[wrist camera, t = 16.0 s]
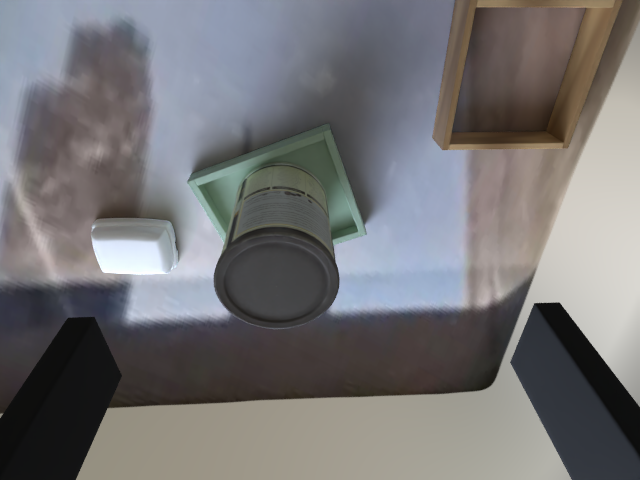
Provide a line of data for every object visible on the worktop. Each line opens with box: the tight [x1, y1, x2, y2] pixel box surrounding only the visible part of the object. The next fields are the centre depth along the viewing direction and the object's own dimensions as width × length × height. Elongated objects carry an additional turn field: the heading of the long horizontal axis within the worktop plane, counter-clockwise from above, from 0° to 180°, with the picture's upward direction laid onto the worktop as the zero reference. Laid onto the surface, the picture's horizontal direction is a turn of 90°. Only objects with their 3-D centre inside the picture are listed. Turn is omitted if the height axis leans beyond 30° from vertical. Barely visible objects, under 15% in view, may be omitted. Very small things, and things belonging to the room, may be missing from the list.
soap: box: [91, 218, 178, 274], centre depth 45 cm, size 9×7×3 cm
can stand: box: [432, 0, 623, 150], centre depth 37 cm, size 13×13×4 cm
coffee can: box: [214, 162, 339, 329], centre depth 38 cm, size 10×10×14 cm
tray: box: [187, 123, 367, 245], centre depth 44 cm, size 16×13×2 cm
